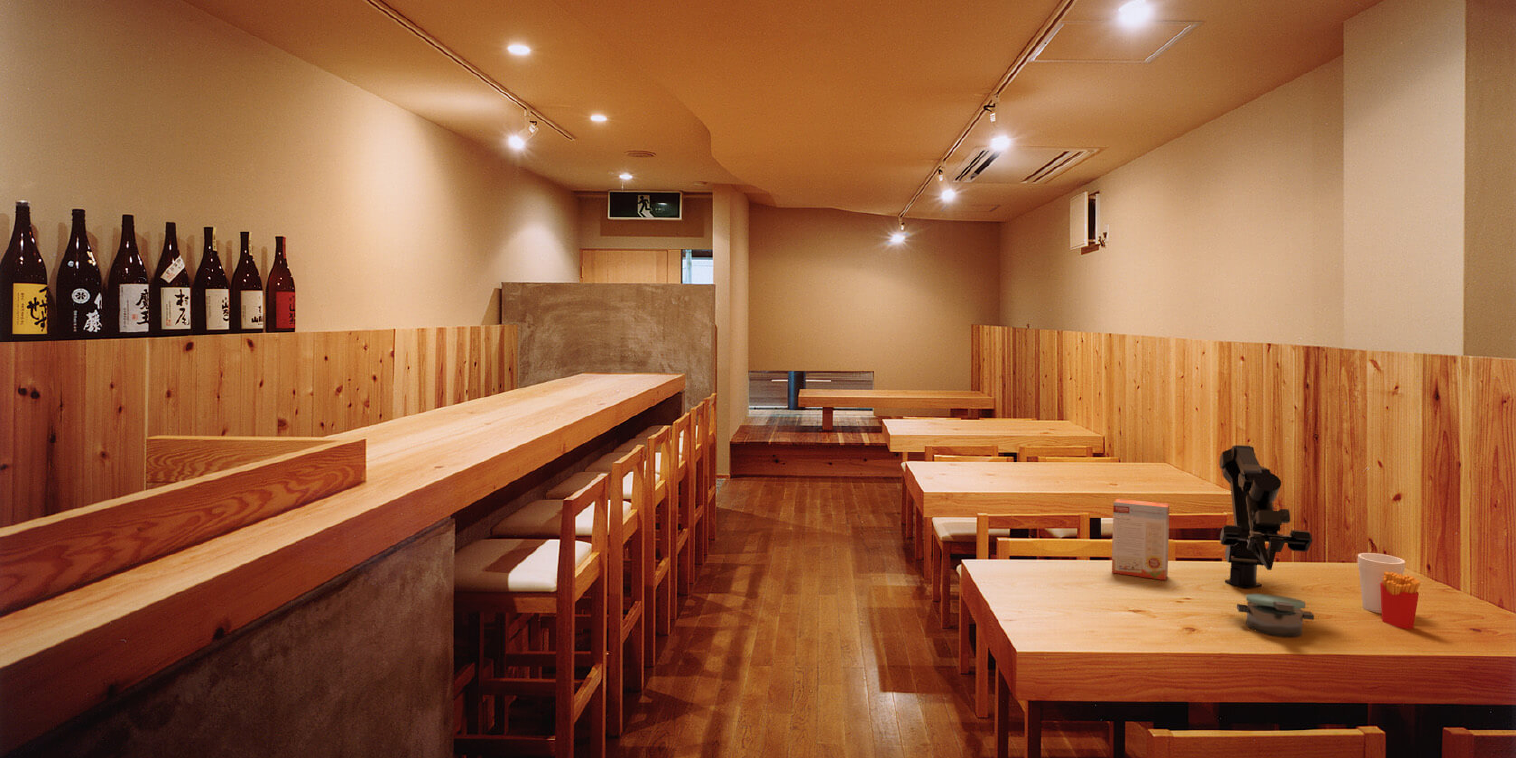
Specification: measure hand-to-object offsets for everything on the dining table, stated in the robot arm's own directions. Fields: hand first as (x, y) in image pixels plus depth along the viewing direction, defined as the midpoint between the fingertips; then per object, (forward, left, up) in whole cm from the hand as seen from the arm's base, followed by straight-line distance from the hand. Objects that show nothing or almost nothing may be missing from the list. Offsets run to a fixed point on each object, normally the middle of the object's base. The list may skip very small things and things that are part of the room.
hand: (1269, 569), depth 195 cm
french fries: (-25, +15, -13) cm, 32 cm away
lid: (+6, +6, -6) cm, 10 cm away
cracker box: (-2, -38, -13) cm, 40 cm away
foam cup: (-32, +7, -13) cm, 35 cm away
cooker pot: (+5, +5, -12) cm, 14 cm away
